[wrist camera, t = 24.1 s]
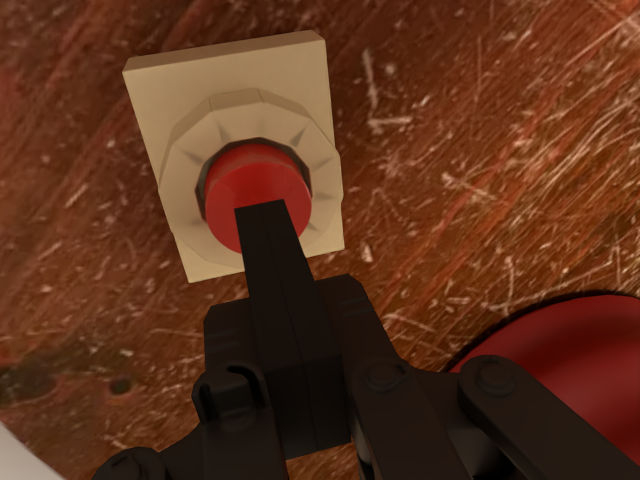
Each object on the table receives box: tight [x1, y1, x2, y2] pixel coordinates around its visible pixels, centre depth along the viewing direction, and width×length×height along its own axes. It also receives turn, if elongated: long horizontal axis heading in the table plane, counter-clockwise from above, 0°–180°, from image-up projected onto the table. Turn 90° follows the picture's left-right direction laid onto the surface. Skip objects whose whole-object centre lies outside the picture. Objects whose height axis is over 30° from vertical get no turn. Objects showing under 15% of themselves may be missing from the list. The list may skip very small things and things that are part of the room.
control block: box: [122, 30, 344, 283], centre depth 19 cm, size 9×7×4 cm
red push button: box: [204, 144, 312, 254], centre depth 17 cm, size 4×4×2 cm
